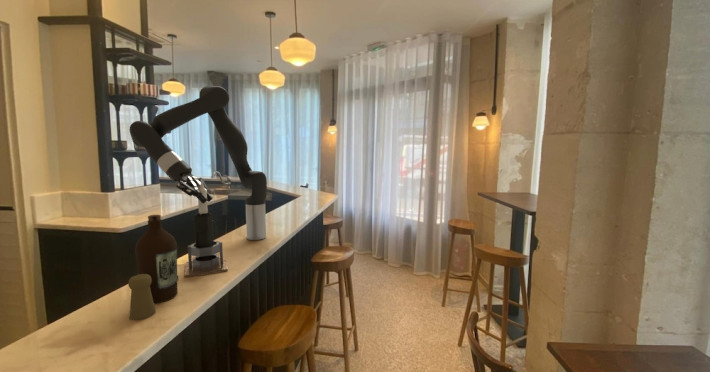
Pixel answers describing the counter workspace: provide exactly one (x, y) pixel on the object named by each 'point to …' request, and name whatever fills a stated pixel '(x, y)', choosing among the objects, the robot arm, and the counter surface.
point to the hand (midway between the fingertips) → (208, 200)
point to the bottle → (203, 223)
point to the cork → (141, 297)
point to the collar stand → (205, 260)
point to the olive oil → (158, 260)
